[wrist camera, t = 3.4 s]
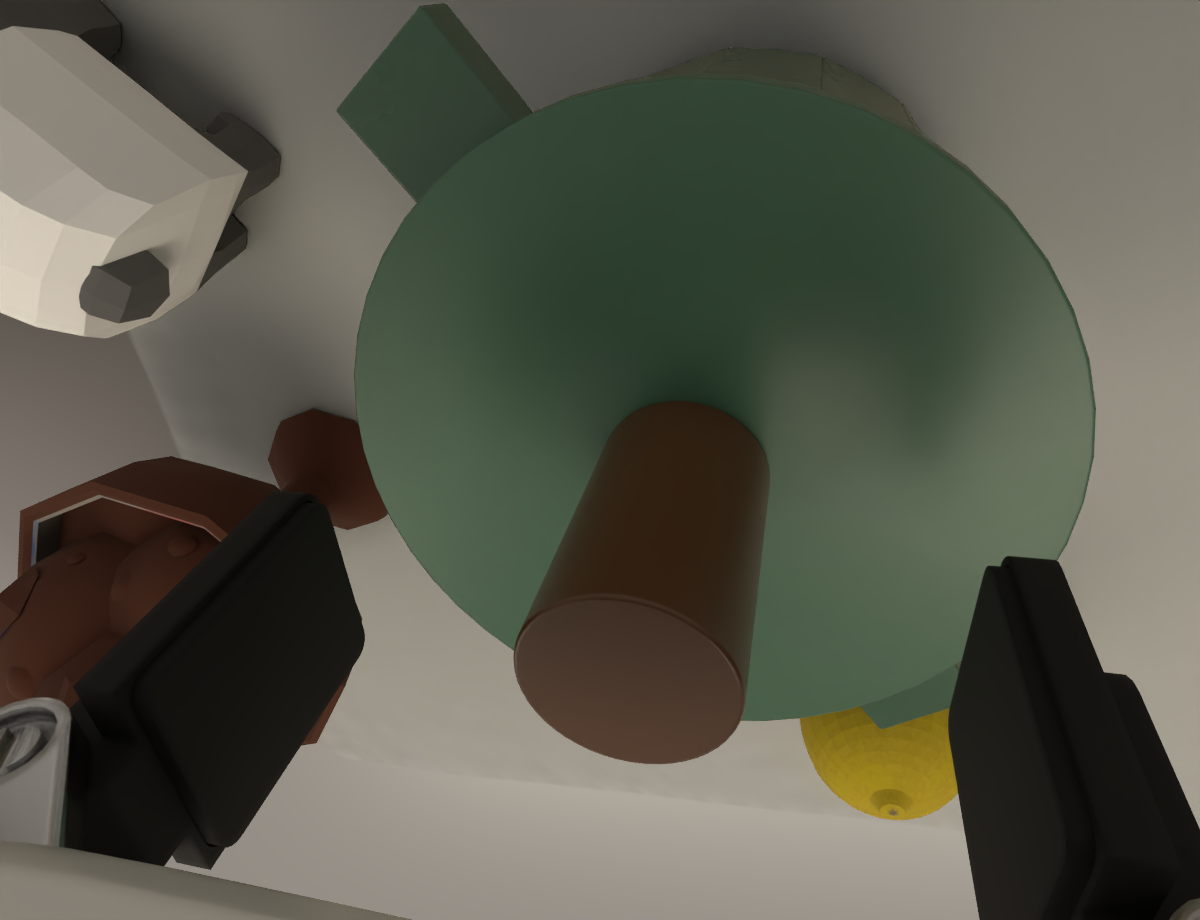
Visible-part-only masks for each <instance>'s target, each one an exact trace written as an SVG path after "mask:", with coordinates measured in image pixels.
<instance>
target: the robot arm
mask: <svg viewBox="0 0 1200 920" xmlns="http://www.w3.org/2000/svg"><path fill="white" fill-rule="evenodd" d="M364 641H365V634H364V629H363V625H362V622H361V619H360V615H359V612H358V609H357V605H356V602H355V599H354V595H353V592H352V588H351V585H350V582H349V578H348V575H347V572H346V568H345V565H344V561H343V558H342V555H341V551H340V548H339V545H338V541H337V538H336V534H335V531H334V528H333V524H332V521H331V518H330V514H329V511H328V509H327V508H326V506H325V505H323V504H320V502H319V500H318V498H317V497H316V496H315V495H313V494H310V493H299V492H288V491H275V492H273V493H271V494H270V495H268V496H267V497H266V498H265V499H264V500H263V501H262V502H261V503H260V504H259V505H258V506H257V507H256V508H255V509H254V510H253V511H252V512H251V513H250V514H249V515H248V516H247V517H246V518H245V519H244V520H243V521H242V522H241V523H240V524H239V525H238V526H236V527H235V528H234V529H233V530H232V531H231V532H230V533H229V534H228V535H227V536H226V537H225V538H224V539H223V540H222V541H221V542H220V543H219V544H218V545H217V546H216V547H215V548H214V549H213V550H212V551H211V552H210V553H209V554H208V555H207V556H206V557H205V558H204V559H203V560H202V561H201V562H200V563H199V564H198V565H197V566H195V567H194V568H193V569H192V570H191V571H190V572H189V573H188V574H187V575H186V576H185V577H184V578H183V579H182V580H181V581H180V582H179V583H178V584H177V585H176V586H175V587H174V588H173V589H172V590H171V591H170V592H169V593H168V594H167V595H166V596H165V597H164V598H163V599H162V600H161V601H160V602H159V603H158V604H157V605H156V606H154V607H153V608H152V609H151V610H150V611H149V612H148V613H147V614H146V615H145V616H144V617H143V618H142V619H141V620H140V621H139V622H138V623H137V624H136V625H135V626H134V627H133V628H132V629H131V630H130V631H129V632H128V633H127V634H126V635H125V636H124V637H123V638H122V639H121V640H120V641H119V642H118V643H117V644H116V645H115V646H113V647H112V648H111V649H110V650H109V651H108V652H107V653H106V654H105V655H104V656H103V657H102V658H101V659H100V660H99V661H98V662H97V663H96V664H95V665H94V666H93V667H92V668H91V669H90V670H89V671H88V672H87V673H86V674H85V675H84V676H83V677H82V678H81V679H80V680H79V681H78V682H77V683H76V684H75V685H74V686H72V687H73V688H74V690H75V692H76V693H77V695H78V697H79V698H80V699H79V700H78V701H77V702H76V703H75V704H74V705H73V706H72V707H71V708H70V709H69V708H68V707H67V706H66V705H65V704H64V703H63V702H62V701H60V700H57V699H53V698H49V697H42V698H29V699H25V700H21V701H17V702H13V703H10V704H8V705H6V706H3V707H1V708H0V920H411V919H406V918H402V917H397V916H393V915H388V914H383V913H379V912H374V911H370V910H365V909H360V908H355V907H351V906H346V905H342V904H338V903H333V902H328V901H323V900H319V899H314V898H310V897H305V896H300V895H296V894H291V893H286V892H281V891H277V890H272V889H267V888H263V887H258V886H253V885H248V884H244V883H239V882H235V881H230V880H225V879H220V878H215V877H211V876H206V875H202V874H197V873H192V872H187V871H183V870H178V869H173V868H169V867H164V866H165V864H166V863H167V861H168V860H169V859H170V857H171V856H173V857H174V859H175V860H176V862H177V863H182V864H187V865H191V866H196V867H200V868H205V869H210V870H211V868H212V867H213V865H214V864H215V862H216V860H217V859H218V857H219V856H220V855H221V853H222V852H223V850H224V849H225V847H229V846H232V845H233V844H234V843H236V842H237V841H238V840H239V838H240V837H241V836H242V834H243V833H244V831H245V830H246V828H247V826H248V825H249V824H250V822H251V821H252V819H253V817H254V816H255V815H256V813H257V811H258V810H259V808H260V807H261V805H262V804H263V802H264V801H265V799H266V798H267V796H268V795H269V793H270V792H271V790H272V789H273V787H274V785H275V784H276V782H277V781H278V780H279V778H280V777H281V775H282V773H283V772H284V770H285V769H286V767H287V765H288V764H289V763H290V761H291V760H292V758H293V757H294V755H295V754H296V752H297V751H298V749H299V748H300V746H301V745H302V743H303V742H304V740H305V738H306V737H307V735H308V734H309V732H310V731H311V729H312V728H313V726H314V725H315V723H316V722H317V720H318V719H319V717H320V716H321V714H322V713H323V711H324V710H325V708H326V707H327V705H328V703H329V702H330V700H331V699H332V697H333V696H334V694H335V693H336V691H337V690H338V688H339V687H340V685H341V684H342V682H343V681H344V679H345V678H346V676H347V675H348V673H349V672H350V670H351V668H352V667H353V665H354V664H355V662H356V661H357V659H358V658H359V656H360V654H361V652H362V650H363V647H364ZM948 734H949V741H950V747H951V753H952V759H953V765H954V771H955V777H956V783H957V789H958V795H959V800H960V806H961V812H962V818H963V824H964V830H965V836H966V841H967V848H968V854H969V859H970V865H971V871H972V877H973V883H974V889H975V895H976V901H977V907H978V912H979V918H980V920H1200V829H1199V826H1198V824H1197V822H1196V820H1195V817H1194V815H1193V813H1192V811H1191V808H1190V806H1189V804H1188V801H1187V799H1186V797H1185V795H1184V792H1183V790H1182V788H1181V786H1180V783H1179V781H1178V779H1177V777H1176V774H1175V772H1174V770H1173V767H1172V765H1171V763H1170V761H1169V758H1168V756H1167V754H1166V752H1165V749H1164V747H1163V745H1162V742H1161V740H1160V738H1159V736H1158V733H1157V731H1156V729H1155V727H1154V724H1153V722H1152V720H1151V717H1150V715H1149V713H1148V711H1147V708H1146V706H1145V704H1144V702H1143V699H1142V697H1141V695H1140V692H1139V691H1138V689H1137V687H1136V686H1135V684H1134V682H1133V681H1132V680H1131V679H1130V678H1129V677H1127V676H1126V675H1122V674H1113V673H1104V672H1103V669H1102V667H1101V664H1100V662H1099V659H1098V657H1097V654H1096V652H1095V650H1094V647H1093V645H1092V642H1091V640H1090V637H1089V635H1088V632H1087V630H1086V627H1085V625H1084V622H1083V620H1082V617H1081V615H1080V612H1079V610H1078V607H1077V605H1076V602H1075V600H1074V597H1073V595H1072V592H1071V590H1070V587H1069V585H1068V582H1067V580H1066V577H1065V575H1064V572H1063V570H1062V568H1061V566H1060V564H1059V562H1057V561H1056V560H1050V559H1039V558H1028V557H1017V556H1006V557H1005V558H1004V559H1003V561H1002V563H1001V566H987V567H986V569H985V572H984V575H983V578H982V582H981V586H980V590H979V594H978V598H977V602H976V606H975V610H974V614H973V618H972V622H971V626H970V630H969V634H968V638H967V641H966V645H965V649H964V653H963V657H962V661H961V665H960V669H959V673H958V677H957V681H956V685H955V689H954V693H953V697H952V701H951V704H950V709H949V716H948Z"/></svg>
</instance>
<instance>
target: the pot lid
mask: <svg viewBox="0 0 1200 920" xmlns="http://www.w3.org/2000/svg"><path fill="white" fill-rule="evenodd" d="M354 380H355V396H356V413H357V418H358V423H359V428H360V434H361V439H362V444H363V449H364V453H365V456H366V459H367V462H368V465H369V468H370V471H371V474H372V477H373V480H374V483H375V486H376V488H377V490H378V492H379V494H380V496H381V499H382V501H383V503H384V505H385V507H386V509H387V511H388V513H389V516H390V518H391V520H392V521H393V523H394V525H395V526H396V528H397V529H398V531H399V533H400V534H401V536H402V538H403V539H404V541H405V542H406V544H407V546H408V547H409V549H410V551H411V552H412V553H413V554H414V556H415V557H416V558H417V560H418V561H419V562H420V564H421V565H422V566H423V567H424V569H425V570H426V571H427V573H428V574H429V575H430V577H431V578H432V579H433V580H434V581H435V582H436V583H437V584H438V585H439V587H440V588H441V589H442V590H443V591H444V592H445V593H446V594H447V595H448V596H449V597H450V598H451V599H452V600H453V601H454V602H455V603H456V605H457V606H458V607H460V608H461V609H462V610H463V611H464V612H465V613H467V614H468V615H469V616H470V617H471V618H472V619H473V620H475V621H476V622H477V623H478V624H479V625H480V626H481V627H483V628H484V629H485V630H486V631H488V632H489V633H490V634H492V635H493V636H494V637H496V638H497V639H499V640H500V641H501V642H503V643H504V644H506V645H507V646H508V647H510V648H511V649H512V650H514V667H515V673H516V677H517V681H518V683H519V686H520V688H521V690H522V692H523V694H524V696H525V697H526V699H527V701H528V702H529V704H530V705H531V706H532V707H533V709H534V710H535V711H536V712H537V713H538V714H539V715H540V717H541V718H542V719H543V720H544V721H545V722H547V723H548V724H549V725H550V726H551V727H552V728H554V729H555V730H556V731H558V732H559V733H561V734H562V735H563V736H565V737H566V738H568V739H570V740H571V741H573V742H575V743H577V744H579V745H581V746H583V747H585V748H587V749H589V750H591V751H594V752H597V753H599V754H602V755H605V756H608V757H611V758H615V759H619V760H624V761H629V762H635V763H644V764H668V763H677V762H683V761H687V760H691V759H694V758H698V757H700V756H702V755H705V754H707V753H709V752H711V751H713V750H714V749H716V748H718V747H719V746H720V745H721V744H723V743H724V742H725V741H726V740H727V739H728V738H729V737H730V736H731V735H732V733H733V732H734V731H735V730H736V728H737V726H738V725H739V723H740V721H770V720H782V719H795V718H805V717H811V716H817V715H822V714H828V713H834V712H839V711H844V710H847V709H851V708H854V707H858V706H862V705H865V704H869V703H872V702H876V701H879V700H882V699H885V698H887V697H890V696H892V695H895V694H897V693H900V692H902V691H905V690H907V689H910V688H912V687H915V686H917V685H919V684H921V683H923V682H925V681H926V680H928V679H930V678H932V677H934V676H936V675H938V674H939V673H941V672H943V671H945V670H947V669H949V668H951V667H952V666H954V665H956V664H957V663H958V662H960V661H961V660H962V657H963V653H964V649H965V645H966V641H967V638H968V634H969V630H970V626H971V622H972V618H973V614H974V610H975V606H976V602H977V598H978V594H979V590H980V586H981V582H982V578H983V575H984V572H985V569H986V567H987V566H1001V563H1002V561H1003V559H1004V558H1005V557H1006V556H1017V557H1028V558H1039V559H1050V560H1056V561H1057V560H1058V558H1059V556H1060V555H1061V553H1062V551H1063V550H1064V548H1065V546H1066V545H1067V543H1068V540H1069V538H1070V535H1071V533H1072V530H1073V528H1074V525H1075V523H1076V520H1077V518H1078V515H1079V513H1080V510H1081V508H1082V505H1083V503H1084V499H1085V494H1086V490H1087V485H1088V480H1089V476H1090V471H1091V467H1092V462H1093V457H1094V438H1095V415H1096V407H1095V399H1094V391H1093V384H1092V376H1091V369H1090V361H1089V357H1088V354H1087V351H1086V347H1085V344H1084V341H1083V338H1082V335H1081V331H1080V328H1079V325H1078V322H1077V319H1076V316H1075V312H1074V309H1073V307H1072V305H1071V303H1070V302H1069V300H1068V298H1067V296H1066V294H1065V292H1064V290H1063V288H1062V286H1061V284H1060V282H1059V280H1058V278H1057V276H1056V274H1055V272H1054V270H1053V269H1052V267H1051V265H1050V263H1049V261H1048V259H1047V258H1046V257H1045V255H1044V254H1043V253H1042V251H1041V250H1040V248H1039V247H1038V246H1037V244H1036V243H1035V242H1034V240H1033V239H1032V238H1031V236H1030V235H1029V234H1028V232H1027V231H1026V230H1025V228H1024V227H1023V226H1022V224H1021V223H1020V222H1019V220H1018V219H1017V218H1016V216H1015V215H1014V214H1013V212H1012V211H1011V210H1010V208H1009V207H1008V206H1007V205H1006V204H1005V203H1004V202H1003V201H1002V200H1001V199H1000V198H999V197H998V196H997V195H996V194H995V193H994V192H993V191H992V190H991V189H990V188H989V187H988V186H987V185H986V184H985V183H984V182H983V181H982V180H981V179H980V178H978V177H977V176H976V175H975V174H974V173H973V172H972V171H971V170H970V169H969V168H968V167H967V166H966V165H965V164H963V163H962V162H961V161H959V160H958V159H956V158H955V157H953V156H952V155H951V154H949V153H948V152H946V151H945V150H943V149H942V148H941V147H939V146H938V145H936V144H935V143H934V142H932V141H931V140H929V139H928V138H926V137H925V136H924V135H922V134H921V133H919V132H918V131H916V130H914V129H912V128H910V127H908V126H906V125H904V124H902V123H900V122H898V121H896V120H894V119H892V118H890V117H888V116H886V115H884V114H882V113H880V112H878V111H876V110H874V109H872V108H870V107H868V106H866V105H864V104H862V103H859V102H856V101H853V100H850V99H847V98H843V97H840V96H837V95H834V94H831V93H828V92H825V91H822V90H819V89H816V88H813V87H810V86H806V85H803V84H797V83H791V82H785V81H779V80H773V79H767V78H762V77H756V76H750V75H742V74H699V73H682V74H674V75H665V76H657V77H649V78H641V79H633V80H626V81H622V82H619V83H615V84H611V85H608V86H604V87H601V88H597V89H593V90H590V91H586V92H582V93H579V94H575V95H572V96H570V97H568V98H565V99H563V100H561V101H559V102H556V103H554V104H552V105H550V106H547V107H545V108H543V109H541V110H538V111H536V112H534V113H532V114H529V115H527V116H525V117H523V118H521V119H519V120H517V121H515V122H513V123H512V124H510V125H509V126H507V127H506V128H504V129H503V130H501V131H499V132H498V133H496V134H495V135H493V136H492V137H490V138H489V139H487V140H485V141H484V142H482V143H481V144H479V145H478V146H476V147H474V148H473V149H471V150H470V151H469V152H468V153H467V154H466V155H464V156H463V157H462V158H461V159H460V160H459V161H458V162H457V163H455V164H454V165H453V166H452V167H451V168H450V169H449V170H447V171H446V172H445V173H444V174H443V175H442V176H441V177H440V178H438V179H437V180H436V181H435V182H434V183H433V184H432V186H431V187H430V188H429V189H428V190H427V192H426V193H425V194H424V195H423V196H422V198H421V199H420V200H419V201H418V203H417V204H416V205H415V206H414V207H413V209H412V210H411V211H410V212H409V213H408V215H407V216H406V217H405V218H404V220H403V222H402V223H401V225H400V227H399V229H398V230H397V232H396V234H395V235H394V237H393V239H392V240H391V242H390V244H389V245H388V247H387V249H386V251H385V252H384V254H383V256H382V258H381V260H380V263H379V266H378V268H377V271H376V273H375V276H374V278H373V281H372V283H371V286H370V288H369V291H368V293H367V296H366V300H365V305H364V309H363V314H362V318H361V322H360V327H359V331H358V335H357V347H356V359H355V372H354Z"/></svg>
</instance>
